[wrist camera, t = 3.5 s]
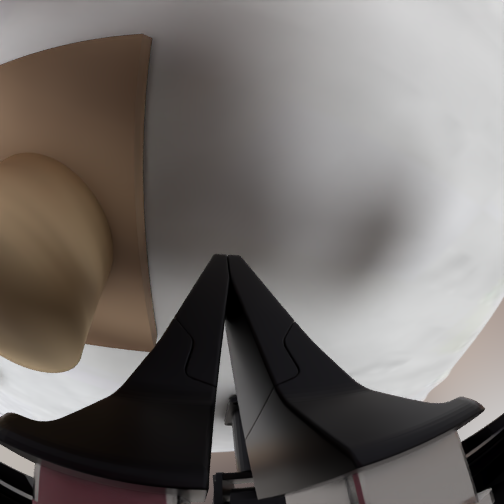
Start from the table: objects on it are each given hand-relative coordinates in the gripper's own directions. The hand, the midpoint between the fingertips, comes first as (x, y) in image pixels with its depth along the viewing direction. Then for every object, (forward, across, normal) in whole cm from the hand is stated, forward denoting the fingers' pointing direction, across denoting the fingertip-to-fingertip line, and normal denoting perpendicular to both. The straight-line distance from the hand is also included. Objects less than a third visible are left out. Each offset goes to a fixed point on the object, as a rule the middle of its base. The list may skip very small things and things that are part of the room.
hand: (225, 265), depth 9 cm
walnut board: (+2, +14, 0) cm, 14 cm away
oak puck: (+1, +8, 0) cm, 8 cm away
